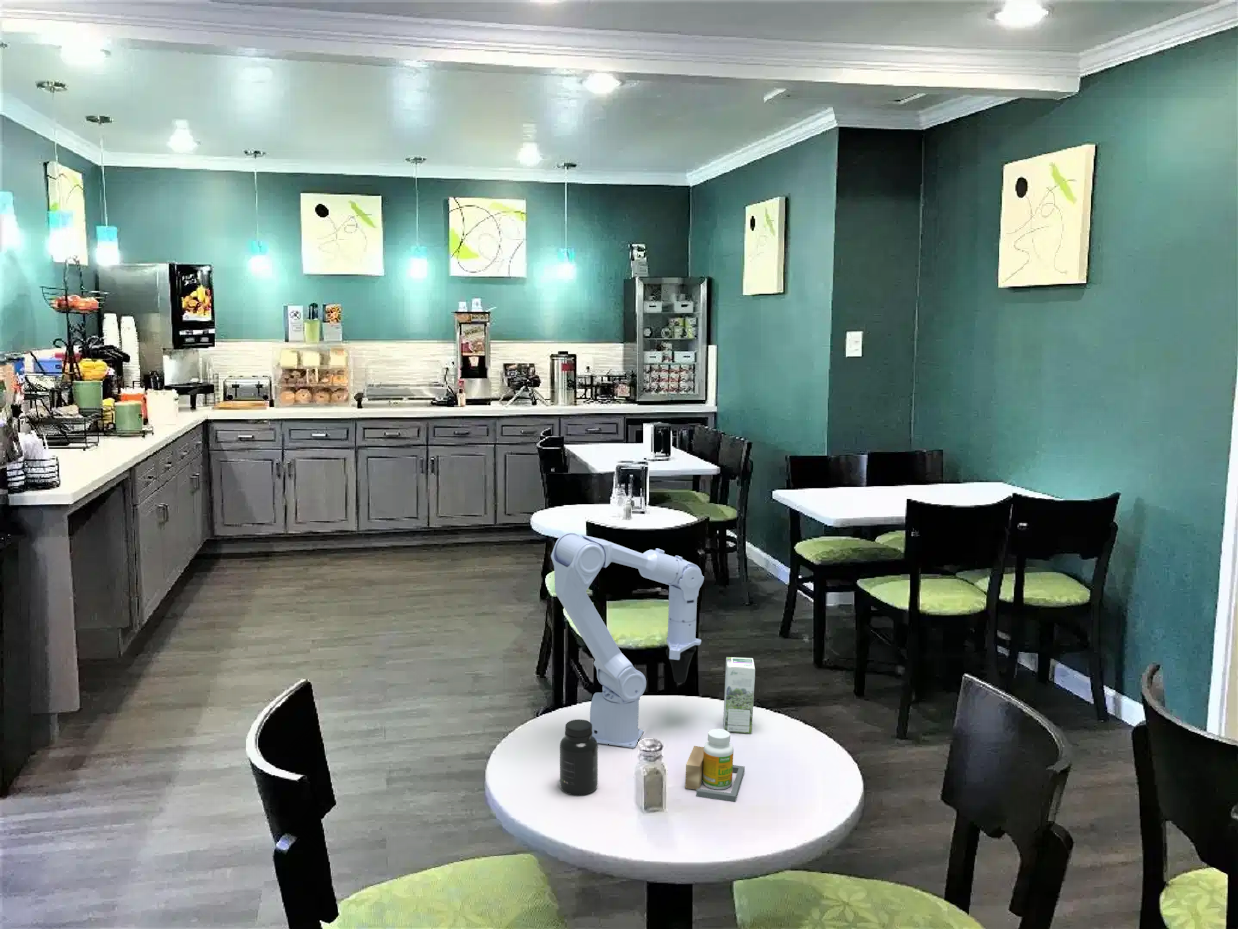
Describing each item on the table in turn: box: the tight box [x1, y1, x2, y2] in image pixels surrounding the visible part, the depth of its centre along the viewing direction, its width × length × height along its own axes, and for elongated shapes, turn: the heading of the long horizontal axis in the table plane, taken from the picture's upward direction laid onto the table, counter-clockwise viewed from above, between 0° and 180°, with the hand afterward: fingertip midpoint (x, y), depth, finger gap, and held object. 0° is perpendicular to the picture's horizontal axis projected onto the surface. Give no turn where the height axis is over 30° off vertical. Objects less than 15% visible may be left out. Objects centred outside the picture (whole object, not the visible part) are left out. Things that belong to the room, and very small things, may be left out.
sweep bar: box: [684, 745, 704, 791], centre depth 185 cm, size 2×8×4 cm, turn 166°
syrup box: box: [722, 656, 756, 734], centre depth 207 cm, size 6×6×14 cm
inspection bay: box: [695, 764, 746, 803], centre depth 184 cm, size 7×12×1 cm, turn 165°
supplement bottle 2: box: [702, 728, 734, 791], centre depth 183 cm, size 5×5×10 cm
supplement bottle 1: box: [559, 719, 599, 796], centre depth 180 cm, size 7×7×12 cm
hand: (680, 681), depth 207 cm, fingers closed
